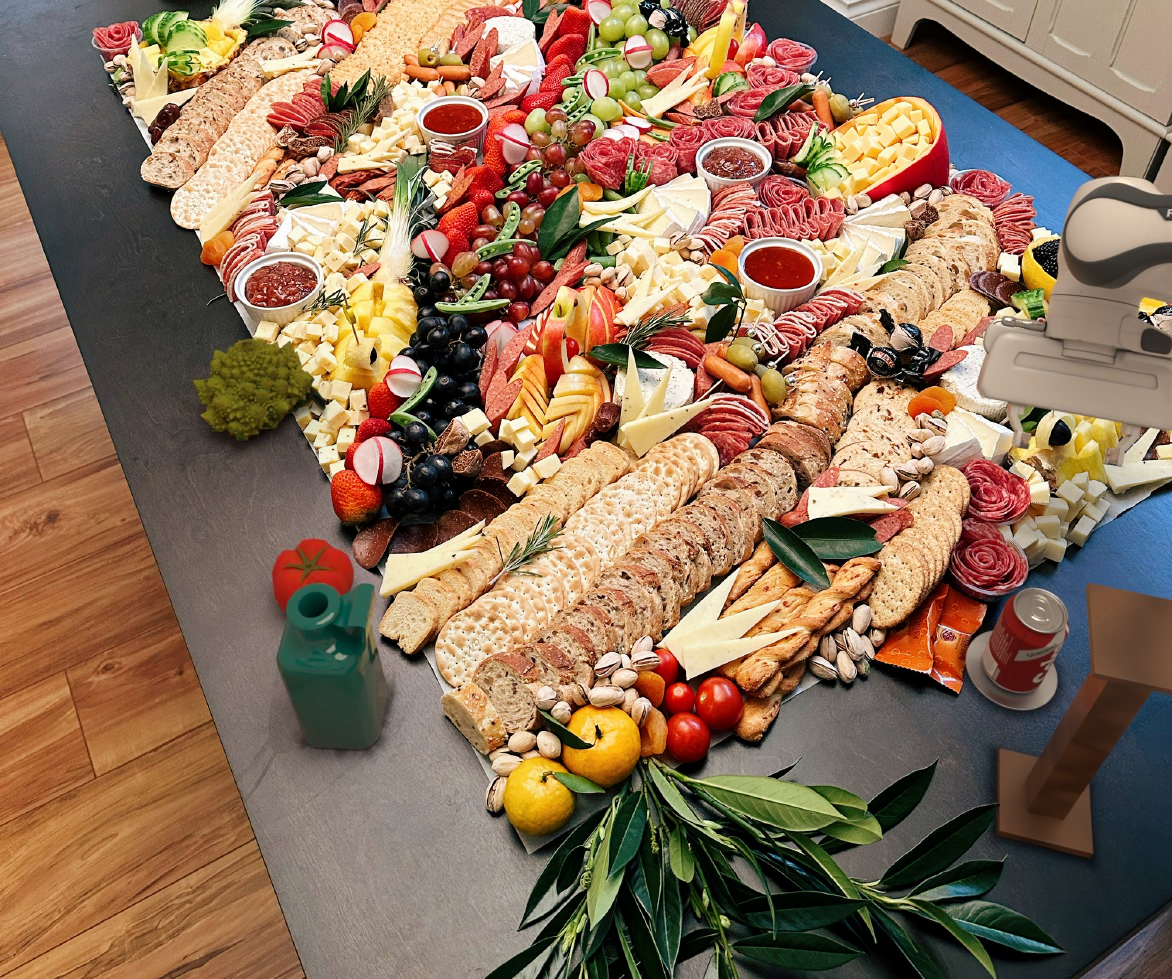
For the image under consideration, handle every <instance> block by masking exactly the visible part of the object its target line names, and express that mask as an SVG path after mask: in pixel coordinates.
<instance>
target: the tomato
mask: <svg viewBox="0 0 1172 979" xmlns="http://www.w3.org/2000/svg"><path fill="white" fill-rule="evenodd" d="M354 578H355V569H354V566H353V564H352V561H351V559H350V557H349V555H348V553H346V552H345V551H343V550H341V549H338V548H336V547H333V546H332V545H331V544H330V543H329V542H328V541H327V540H326V539H321V538H315V537H313V538H308V539H302V540H301V541H300V542H299V543H298V545H295V548H294V549H284V550H282V551H281V552H280V554H279V555H278V556H277V557H276V560H275V562H274V565H273V568H272V571H271V579H272V587H273V596H274V600H275V602H276V603H277V605H278V606H279V607H280V608H281V610H282V611H283V612H284V613H285V614H286V611H285V610H286V607H287V603H288V600H289V599H290V597H291V596H292V595H293V593H294V592H295V591H297V590H298V589H300V588H301V587H303V586H305V585H309V584H312V583H325V584H327V585H330V586H332V587H334V588H335V589H336V590H337V592H338V593H339V594H340V596H341V595H344V594H346V593H349V592H350V591H351V589H352V587H353V584H354Z"/></svg>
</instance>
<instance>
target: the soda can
mask: <svg viewBox="0 0 1172 979" xmlns="http://www.w3.org/2000/svg"><path fill="white" fill-rule="evenodd" d="M992 631H993V632H992V634H991V636H990V638H989V640H988V643H987V645H986V647H985V649H984V652H983V655H982V662H983V666H984V669H985V671H986V673H987V674H988V676H989V677H990V678H991V679H992V680H993V681H994V682H995V683H996V684H997V685H999V686H1000V687H1002V688H1004V689H1006V690H1009V691H1012V692H1017V693H1026V692H1030V691H1033V690H1035V689H1036V688H1038V687H1039V686H1040V685H1041V683H1042V682H1043V680H1044V678H1045V676H1046V674H1047V672H1048V671H1049V669H1050V667H1051V665H1052V663H1053V664H1054V661H1055V660H1056V658H1057V656H1058V655H1059V652H1060V650H1061V648H1062V647H1063V645H1064V643H1065V641H1066V640H1067V638H1068V635H1069V633H1070V622H1069V612H1068V610H1067V607H1066V605H1065V603H1064V602H1063V601H1062V600H1061V598H1059V597H1058V596H1057V595H1056V594H1055V593H1052V592H1051V591H1049V590H1046V589H1044V588H1039V587H1028V588H1025V589H1022V590H1020V591H1019V592H1018V593H1016V594H1013V595H1012V596H1010V597H1009V598H1008V599H1007V600H1006V602H1005V603H1004V605H1003V608H1002V610H1001V611H1000V614H999V617H998V618H997V621H996V623H995V625H994V627H993V630H992Z"/></svg>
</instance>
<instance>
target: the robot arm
mask: <svg viewBox="0 0 1172 979" xmlns="http://www.w3.org/2000/svg"><path fill="white" fill-rule="evenodd" d="M1059 239H1060V240H1059V245H1058V251H1057V257H1056V258H1057V266H1058V270H1057V277H1056V281H1055V283H1054V285H1053V287H1052V289H1051V291H1050V294H1049V300H1048V306H1047V311H1046V316H1045V321H1042V320H1035V319H1029V318H1028V319H1027V318H1026V319H1025V318H1017V317H1015V316H1012V315H1002V317H1001V318H1000V317H999V318H996V319H993V320H992V321H989V323H988V324H987V325H986V327H985V330H984V334H983V339H982V340H983V341H982V347H983V349H984V351H985V355H984V358H983V361H982V363H981V366H980V370H979V373H978V376H977V377H978V378H977V382H976V391H977V392H978V395H980V397H981V398H983V399H988V400H993V401H1000V402H1005V403H1007V407H1006V416H1007V418H1008V421H1009V424H1010V426H1011V428H1012V430H1013V436H1012V440H1011V447H1013V448H1017V449H1021V450H1029V449H1030V441H1031V439H1032V433H1030V432H1025V431H1024V429H1023V425H1022V422H1021V420H1020V417H1019V416H1024V414H1025V410H1026V406H1027V407H1032V408H1038V409H1044V410H1049V411H1056V412H1059V413H1060V412H1061V413H1064V414H1065V413H1066V414H1070V415H1076V416H1082V417H1088V418H1094V419H1099V420H1104V421H1109V422H1114V423H1115V422H1116V423H1121V425H1120V429H1119V430H1120V431H1119V433H1120V434H1121V435H1122V434H1123V435H1124V436H1123V437H1122V438H1121V439H1120V440H1119V442H1118V443H1117V444H1116V445H1115V447H1105V451H1104V454H1105V456H1104V457H1103V464H1104V465H1108V466H1112V467H1113V466H1114V467H1119V468H1122V467H1123V465H1124V459H1125V453H1126V452H1127V451H1128V450H1129V449H1130V448H1131V447H1132V445H1134V444H1135V442H1136V441H1137V440H1138V439H1139V438H1140V435H1141V430H1142V428H1147V429H1148V428H1149V429H1153V430H1159V431H1165V432H1170V431H1172V334H1171V333H1169V332H1167V331H1165V330H1163V329H1160V328H1159V327H1156V326H1154V325H1153V324H1151V323H1148V322H1146V321H1144V320H1142V319H1140V318H1139V313H1140V306H1141V302H1142V301H1143V299H1150V300H1155V301H1158V302H1162V303H1166V304H1170V305H1172V194H1164V193H1163V192H1161V191H1160V190H1158V188H1157V187H1156V186H1155V185H1154V184H1153V183H1152V182H1151V181H1150V180H1147V179H1145V178H1142V177H1138V176H1135V175H1134V176H1133V175H1105V176H1100V177H1096V178H1093V179H1090V180H1089V181H1086V182H1084V183H1082V184H1081V185H1080V186H1079V188H1078V189H1077V190H1076V192H1075V193H1074V195H1073V197H1072V198H1071V201H1070V204H1069V206H1068V208H1067V212H1066V215H1065V219H1064V222H1063V226H1062V230H1061V235H1060V238H1059ZM998 323H1000V324H998Z"/></svg>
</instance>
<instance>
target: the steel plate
mask: <svg viewBox="0 0 1172 979" xmlns="http://www.w3.org/2000/svg"><path fill="white" fill-rule="evenodd" d="M992 632H993V630H988V631H985V632H983V633H981V634H979V635H978V636H976V637H975V638H974V639H973V640H972V641H971V642H970V644H969V646H968V647H967V649H966V653H965V658H964V662H965V664H964V666H965V670H966V673H967V676H968V678H969V680H970V682H971V683H972V686H974V688H975V689H976V691H978V693H979V694H981V696H982V697H984V698H985V699H986V700H988V701H990V702H991V703H992V704H994V705H996V706H998V707H1001V708H1003V709H1005V710H1009V711H1015V712H1030V711H1031V712H1032V711H1035V710H1038V709H1041V708H1043V707H1045V706H1046V705H1047V704H1048V703H1049V702H1050V701H1051V700H1052V698H1053V697H1054V695H1055V693H1056V691H1057V688H1058V682H1059V681H1058V672H1057V669H1056V666H1055V663H1054V662H1053V663H1052V665H1051V667H1050V669H1049V671H1048V672H1047V674H1046V676H1045V678H1044V680H1043V682H1042V683H1041V685H1040V686H1039V687H1038V688H1036V689H1035V690H1033V691H1030V692H1026V693H1017V692H1012V691H1009V690H1006V689H1004V688H1002V687H1000V686H999V685H997V684H996V683H995V682H994V681H993V680H992V679H991V678H990V677H989V676H988V674H987V673H986V671H985V669H984V666H983V662H982V655H983V652H984V649H985V647H986V645H987V643H988V640H989V638H990V636H991V634H992Z"/></svg>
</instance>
